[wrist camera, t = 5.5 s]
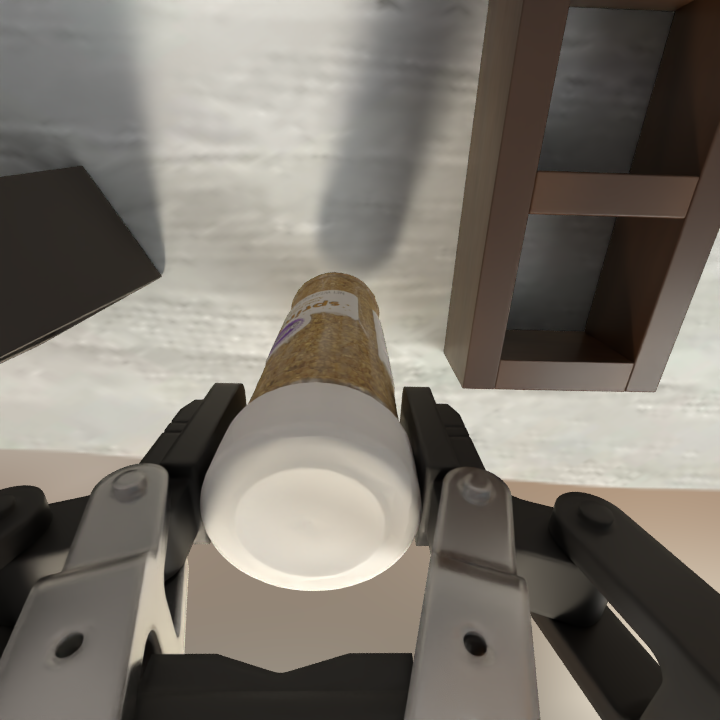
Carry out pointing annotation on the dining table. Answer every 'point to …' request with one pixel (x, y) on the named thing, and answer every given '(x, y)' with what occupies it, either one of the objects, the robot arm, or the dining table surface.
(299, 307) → the sprinkles bottle
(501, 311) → the holder
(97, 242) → the phone stand
